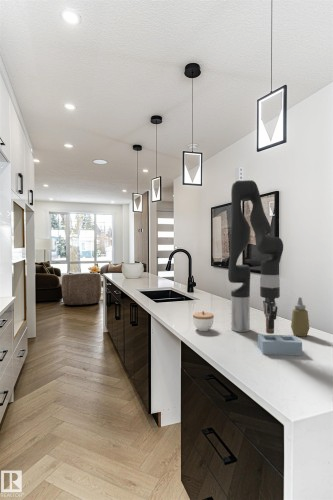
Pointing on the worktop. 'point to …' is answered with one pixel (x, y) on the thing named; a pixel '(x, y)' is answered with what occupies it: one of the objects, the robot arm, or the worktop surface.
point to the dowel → (267, 326)
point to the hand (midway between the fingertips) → (270, 327)
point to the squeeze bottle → (300, 319)
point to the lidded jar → (203, 320)
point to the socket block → (280, 344)
